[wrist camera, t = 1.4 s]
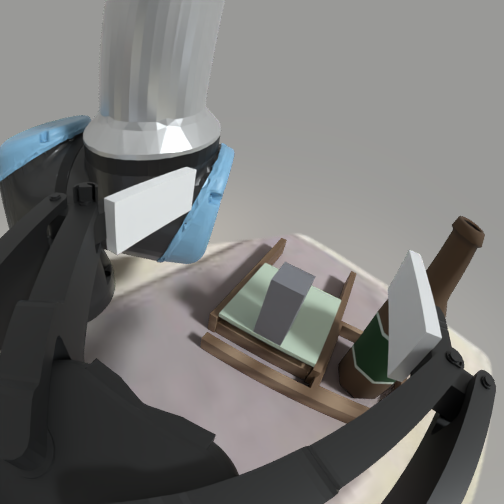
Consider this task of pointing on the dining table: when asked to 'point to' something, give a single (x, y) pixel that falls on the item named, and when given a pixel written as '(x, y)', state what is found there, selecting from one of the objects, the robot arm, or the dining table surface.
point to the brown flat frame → (273, 379)
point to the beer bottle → (377, 332)
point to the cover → (284, 311)
